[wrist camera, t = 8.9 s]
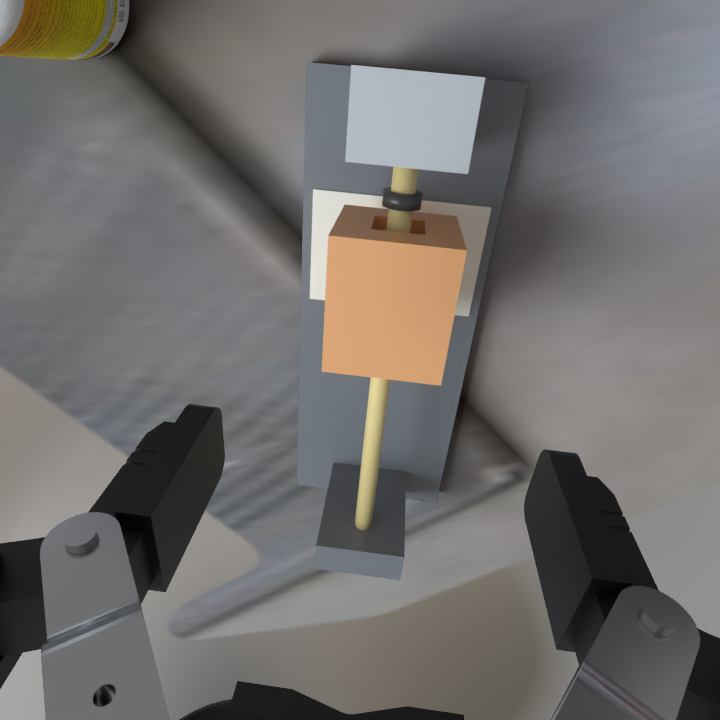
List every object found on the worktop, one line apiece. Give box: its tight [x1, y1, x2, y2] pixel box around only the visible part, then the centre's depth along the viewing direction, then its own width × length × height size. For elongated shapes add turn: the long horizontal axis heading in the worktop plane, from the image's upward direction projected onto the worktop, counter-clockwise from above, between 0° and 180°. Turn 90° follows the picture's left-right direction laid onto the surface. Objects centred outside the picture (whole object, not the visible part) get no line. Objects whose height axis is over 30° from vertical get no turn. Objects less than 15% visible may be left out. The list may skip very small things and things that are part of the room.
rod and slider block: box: [297, 62, 529, 580], centre depth 26 cm, size 26×10×8 cm, turn 175°
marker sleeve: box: [322, 205, 467, 386], centre depth 22 cm, size 6×5×5 cm
